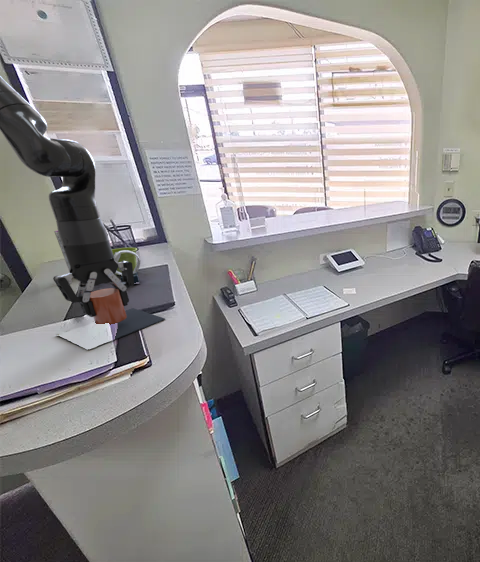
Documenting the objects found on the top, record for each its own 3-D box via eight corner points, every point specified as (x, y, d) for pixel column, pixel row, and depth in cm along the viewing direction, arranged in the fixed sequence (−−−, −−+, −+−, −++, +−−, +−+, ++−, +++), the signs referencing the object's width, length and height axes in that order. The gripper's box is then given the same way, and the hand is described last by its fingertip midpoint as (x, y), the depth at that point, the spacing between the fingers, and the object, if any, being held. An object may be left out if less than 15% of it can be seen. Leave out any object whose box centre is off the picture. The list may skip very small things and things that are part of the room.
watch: (115, 283, 102) (105, 251, 98) (145, 278, 106) (137, 247, 102) (115, 288, 97) (104, 255, 94) (146, 283, 102) (137, 251, 98)
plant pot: (104, 276, 108) (96, 252, 105) (132, 268, 117) (126, 246, 114) (121, 279, 105) (114, 255, 102) (149, 271, 113) (143, 248, 110)
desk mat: (88, 351, 64) (87, 349, 64) (55, 335, 70) (55, 334, 70) (165, 319, 78) (165, 318, 78) (133, 309, 84) (133, 307, 83)
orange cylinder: (103, 327, 70) (94, 299, 67) (90, 322, 72) (80, 294, 70) (132, 317, 75) (124, 290, 72) (118, 312, 77) (110, 286, 75)
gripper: (114, 232, 74) (132, 296, 80) (32, 244, 62) (61, 319, 68) (132, 235, 71) (150, 302, 77) (49, 249, 59) (78, 327, 65)
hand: (108, 310), depth 72 cm, fingers closed on orange cylinder, 6 cm apart
